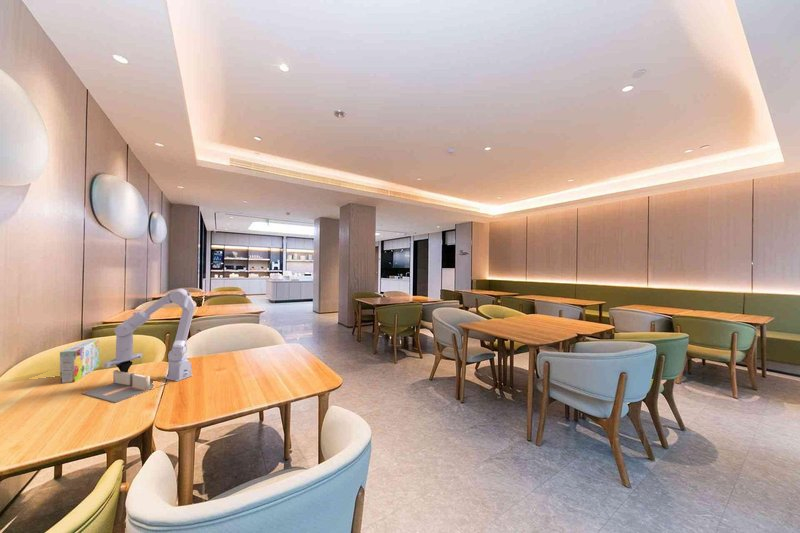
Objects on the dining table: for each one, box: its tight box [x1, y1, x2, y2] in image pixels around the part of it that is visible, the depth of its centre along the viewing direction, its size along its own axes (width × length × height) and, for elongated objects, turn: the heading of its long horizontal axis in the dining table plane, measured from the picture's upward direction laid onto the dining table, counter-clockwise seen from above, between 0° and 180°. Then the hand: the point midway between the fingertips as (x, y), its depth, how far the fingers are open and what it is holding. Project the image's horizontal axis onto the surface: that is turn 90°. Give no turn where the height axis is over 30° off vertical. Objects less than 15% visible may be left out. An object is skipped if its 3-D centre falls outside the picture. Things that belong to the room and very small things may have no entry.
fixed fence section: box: [132, 373, 151, 391], centre depth 129 cm, size 10×2×6 cm, turn 73°
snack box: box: [59, 338, 100, 384], centre depth 142 cm, size 21×6×15 cm, turn 25°
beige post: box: [112, 369, 135, 385], centre depth 132 cm, size 12×2×5 cm, turn 78°
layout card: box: [81, 378, 169, 404], centre depth 129 cm, size 22×20×1 cm
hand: (123, 377), depth 133 cm, fingers closed, pressing on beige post
